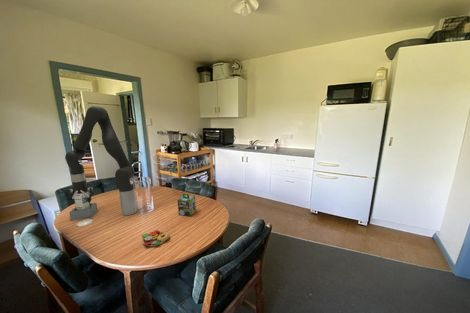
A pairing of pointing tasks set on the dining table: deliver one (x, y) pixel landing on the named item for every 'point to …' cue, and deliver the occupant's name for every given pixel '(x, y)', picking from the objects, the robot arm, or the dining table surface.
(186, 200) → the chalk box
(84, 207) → the syrup box
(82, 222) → the coaster
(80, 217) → the housing
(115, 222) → the dining table surface
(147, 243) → the toy food set
